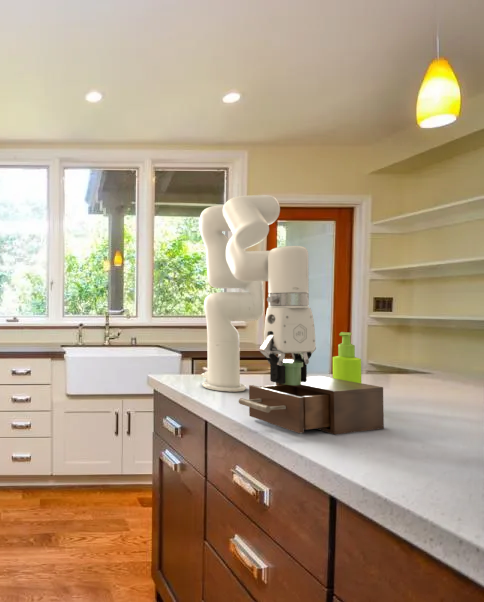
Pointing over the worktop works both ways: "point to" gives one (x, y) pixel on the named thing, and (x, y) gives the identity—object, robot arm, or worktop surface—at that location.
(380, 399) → the cabinet
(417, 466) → the worktop surface
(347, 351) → the soap dispenser
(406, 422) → the worktop surface
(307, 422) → the drawer
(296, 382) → the pot
